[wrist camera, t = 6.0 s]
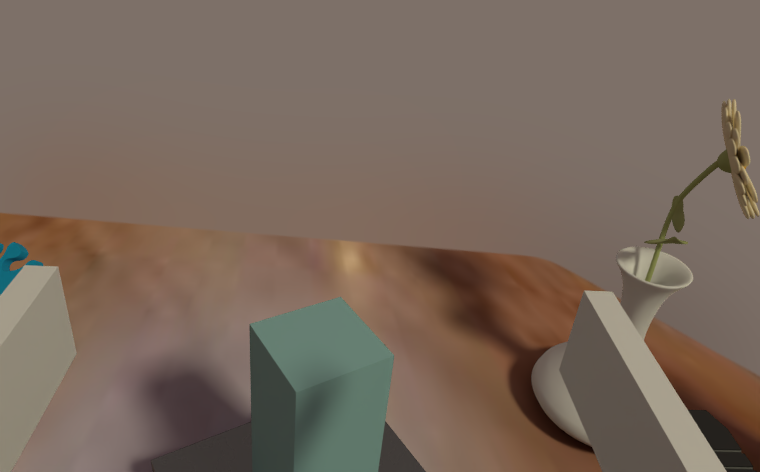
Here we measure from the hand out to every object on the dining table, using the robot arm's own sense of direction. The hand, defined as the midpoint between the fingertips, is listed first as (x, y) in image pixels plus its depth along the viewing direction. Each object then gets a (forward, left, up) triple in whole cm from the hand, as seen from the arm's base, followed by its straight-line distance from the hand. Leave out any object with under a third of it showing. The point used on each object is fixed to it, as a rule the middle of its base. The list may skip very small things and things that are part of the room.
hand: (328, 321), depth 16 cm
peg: (-9, +5, -25) cm, 27 cm away
